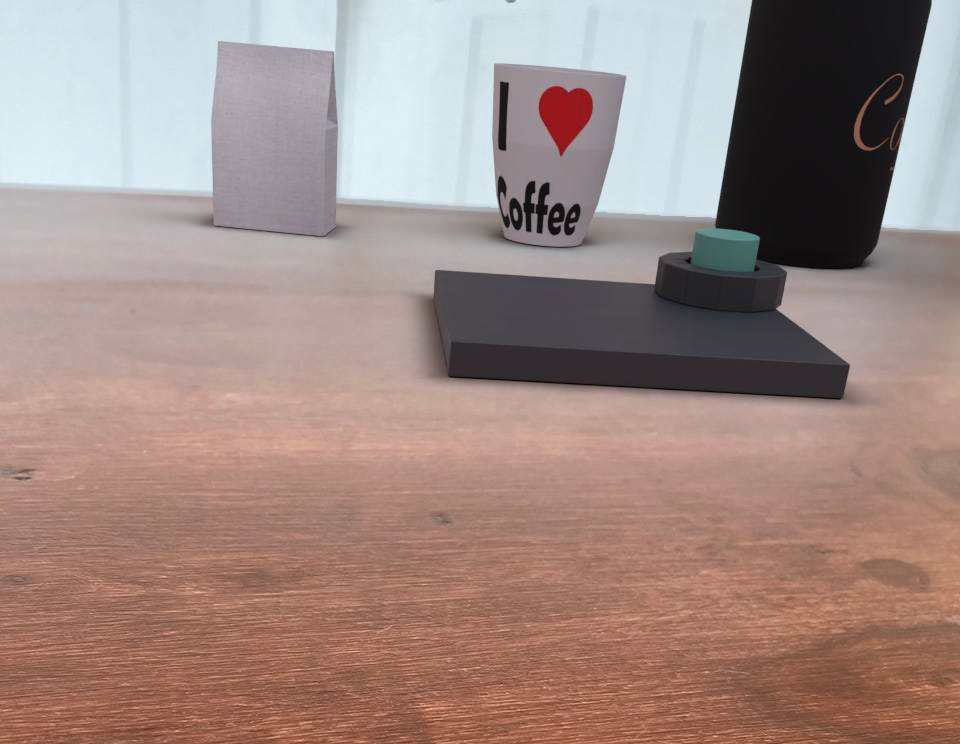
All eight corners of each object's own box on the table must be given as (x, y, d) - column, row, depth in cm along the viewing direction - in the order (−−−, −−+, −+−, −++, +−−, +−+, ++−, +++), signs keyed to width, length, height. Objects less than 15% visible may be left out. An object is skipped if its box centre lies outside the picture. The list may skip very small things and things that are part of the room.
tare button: (743, 267, 58) (749, 230, 57) (760, 280, 55) (768, 241, 54) (683, 263, 58) (689, 226, 57) (698, 276, 55) (704, 237, 54)
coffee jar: (850, 277, 73) (924, -59, 65) (688, 250, 78) (738, -69, 69) (889, 257, 82) (959, -43, 73) (741, 233, 86) (791, -53, 78)
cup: (459, 237, 75) (471, 62, 70) (511, 224, 82) (526, 63, 77) (578, 256, 72) (599, 75, 68) (622, 241, 79) (644, 75, 74)
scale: (753, 317, 61) (765, 256, 59) (853, 399, 48) (871, 324, 46) (432, 296, 59) (436, 233, 57) (448, 376, 46) (453, 298, 45)
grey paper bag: (323, 236, 72) (326, 52, 67) (213, 225, 72) (209, 41, 67) (335, 227, 75) (339, 50, 70) (230, 216, 75) (227, 40, 70)
